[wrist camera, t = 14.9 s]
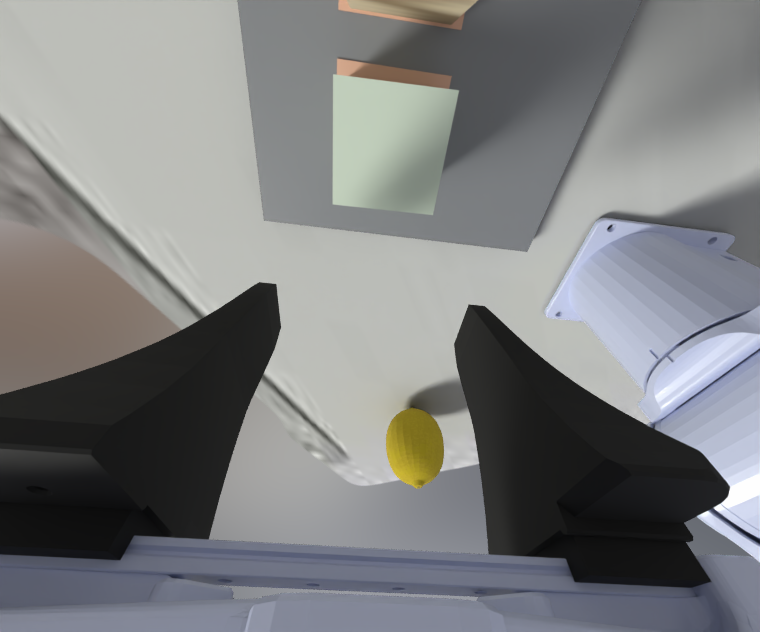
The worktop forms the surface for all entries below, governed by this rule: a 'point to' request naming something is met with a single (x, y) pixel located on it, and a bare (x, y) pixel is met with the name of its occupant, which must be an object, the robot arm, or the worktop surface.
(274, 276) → the worktop surface
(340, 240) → the worktop surface
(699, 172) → the worktop surface
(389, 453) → the lemon
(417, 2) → the maple block
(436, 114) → the sage block
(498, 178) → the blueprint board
